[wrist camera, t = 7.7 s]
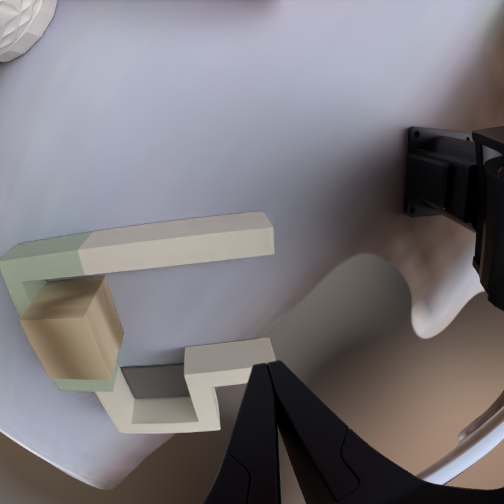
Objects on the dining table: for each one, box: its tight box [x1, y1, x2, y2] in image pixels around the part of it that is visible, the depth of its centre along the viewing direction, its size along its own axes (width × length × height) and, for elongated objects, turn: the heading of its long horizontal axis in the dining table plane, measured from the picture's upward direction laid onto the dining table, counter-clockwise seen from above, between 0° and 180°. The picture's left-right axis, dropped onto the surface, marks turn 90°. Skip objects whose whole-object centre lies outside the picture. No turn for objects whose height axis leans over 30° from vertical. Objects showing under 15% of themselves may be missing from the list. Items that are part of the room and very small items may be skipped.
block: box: [19, 276, 124, 380], centre depth 18 cm, size 5×5×5 cm
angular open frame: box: [0, 211, 276, 434], centre depth 21 cm, size 18×18×3 cm
